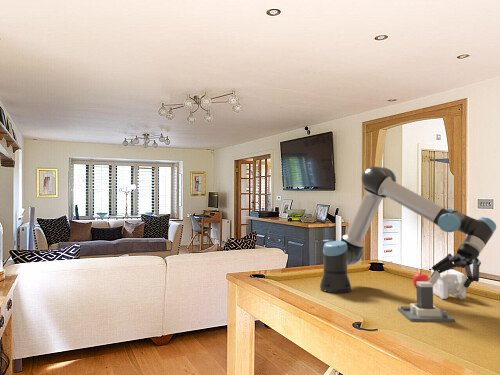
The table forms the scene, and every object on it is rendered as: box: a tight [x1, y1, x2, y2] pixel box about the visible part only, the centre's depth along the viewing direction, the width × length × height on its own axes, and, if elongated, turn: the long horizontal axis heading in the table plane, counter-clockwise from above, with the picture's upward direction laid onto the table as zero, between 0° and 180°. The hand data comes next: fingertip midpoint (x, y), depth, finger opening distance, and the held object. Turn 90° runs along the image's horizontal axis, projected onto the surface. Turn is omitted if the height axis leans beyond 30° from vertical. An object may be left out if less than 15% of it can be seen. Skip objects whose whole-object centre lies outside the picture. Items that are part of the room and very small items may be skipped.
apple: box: [412, 271, 430, 288], centre depth 194 cm, size 8×8×8 cm
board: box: [397, 303, 456, 323], centre depth 147 cm, size 16×14×4 cm
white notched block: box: [430, 268, 467, 300], centre depth 176 cm, size 15×11×12 cm
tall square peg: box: [416, 281, 434, 309], centre depth 148 cm, size 4×4×12 cm
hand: (443, 288), depth 152 cm, fingers open, 13 cm apart
